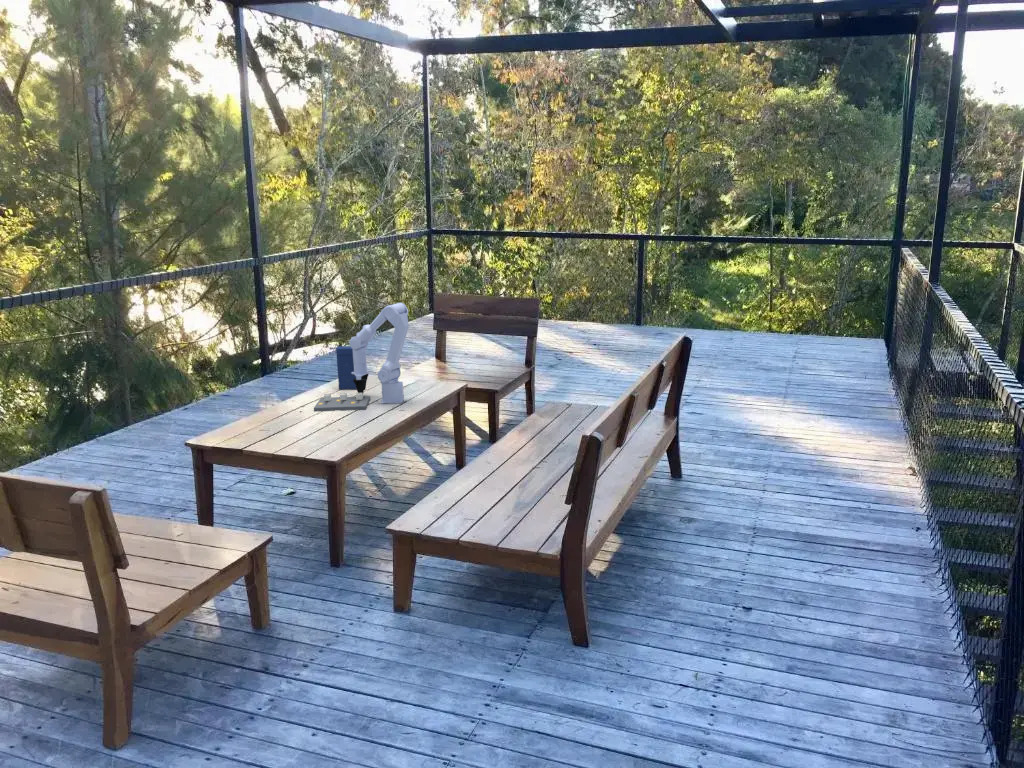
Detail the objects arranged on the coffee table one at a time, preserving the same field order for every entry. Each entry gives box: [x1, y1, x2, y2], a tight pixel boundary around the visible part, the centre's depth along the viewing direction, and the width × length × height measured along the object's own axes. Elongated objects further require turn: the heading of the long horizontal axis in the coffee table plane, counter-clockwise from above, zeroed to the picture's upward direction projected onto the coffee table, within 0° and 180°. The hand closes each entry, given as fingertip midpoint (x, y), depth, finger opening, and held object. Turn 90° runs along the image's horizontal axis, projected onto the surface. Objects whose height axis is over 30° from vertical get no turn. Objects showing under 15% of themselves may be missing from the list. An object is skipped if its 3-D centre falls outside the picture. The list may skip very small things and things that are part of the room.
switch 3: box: [355, 392, 364, 400], centre depth 390 cm, size 2×3×3 cm
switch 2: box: [339, 392, 348, 400], centre depth 390 cm, size 2×3×3 cm
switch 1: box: [323, 393, 332, 401], centre depth 390 cm, size 2×3×3 cm
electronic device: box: [335, 345, 357, 390], centre depth 417 cm, size 10×5×20 cm, turn 84°
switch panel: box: [313, 395, 372, 412], centre depth 388 cm, size 22×18×2 cm
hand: (361, 392), depth 398 cm, fingers open, 7 cm apart
